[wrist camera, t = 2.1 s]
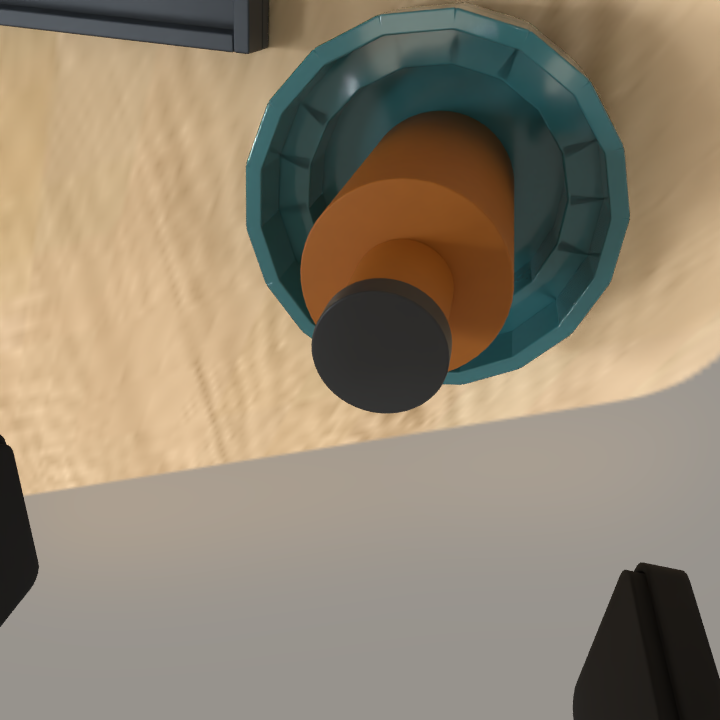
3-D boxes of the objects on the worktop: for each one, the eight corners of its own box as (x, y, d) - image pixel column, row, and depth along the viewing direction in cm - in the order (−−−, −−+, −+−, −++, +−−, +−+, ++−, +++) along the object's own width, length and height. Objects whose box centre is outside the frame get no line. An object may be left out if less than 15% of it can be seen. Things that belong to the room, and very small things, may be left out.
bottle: (528, 120, 25) (541, 251, 13) (498, 267, 28) (487, 481, 16) (373, 101, 26) (252, 209, 14) (360, 246, 29) (252, 436, 17)
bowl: (655, 20, 23) (686, 31, 19) (563, 351, 30) (571, 413, 26) (290, -17, 25) (243, -15, 21) (282, 304, 32) (246, 355, 27)
